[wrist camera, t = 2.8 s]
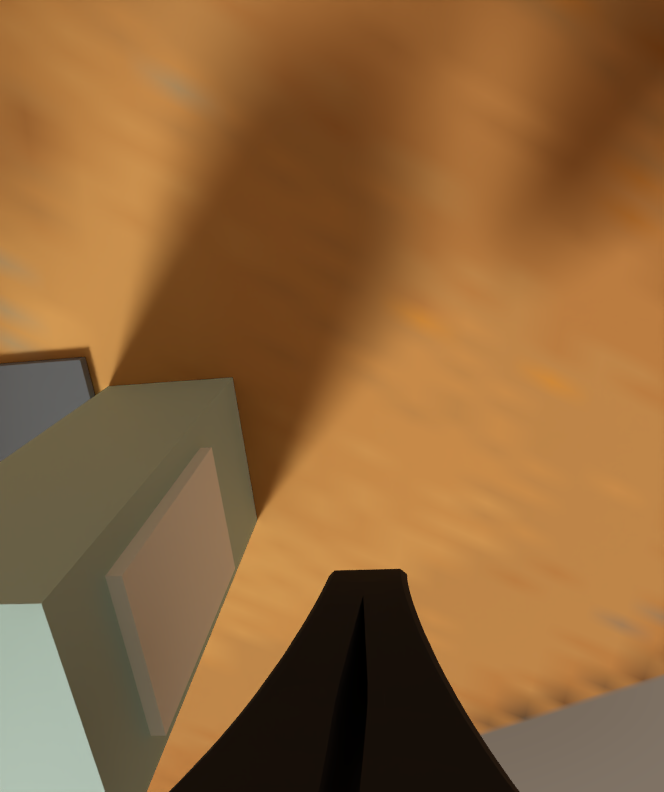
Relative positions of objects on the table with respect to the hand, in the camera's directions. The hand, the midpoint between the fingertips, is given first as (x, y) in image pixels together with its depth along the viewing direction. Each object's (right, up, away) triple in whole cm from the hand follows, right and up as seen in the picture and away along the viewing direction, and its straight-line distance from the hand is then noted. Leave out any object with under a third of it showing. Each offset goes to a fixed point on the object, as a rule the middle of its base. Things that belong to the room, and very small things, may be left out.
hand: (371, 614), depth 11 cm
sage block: (-5, +2, +8) cm, 10 cm away
